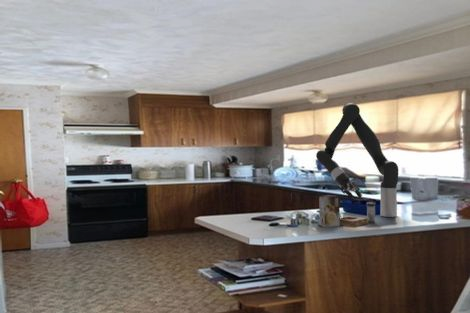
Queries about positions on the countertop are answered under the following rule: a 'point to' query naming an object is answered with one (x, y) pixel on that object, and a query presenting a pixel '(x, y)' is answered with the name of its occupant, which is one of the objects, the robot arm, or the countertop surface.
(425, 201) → the countertop surface
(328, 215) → the coffee box
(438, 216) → the countertop surface
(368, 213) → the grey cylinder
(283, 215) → the countertop surface
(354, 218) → the socket
